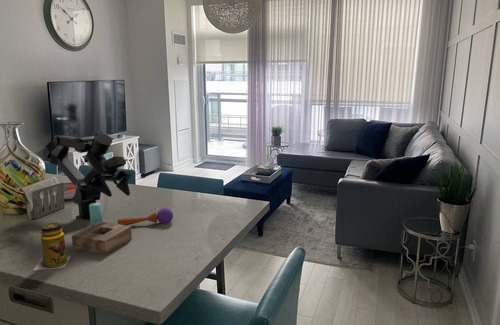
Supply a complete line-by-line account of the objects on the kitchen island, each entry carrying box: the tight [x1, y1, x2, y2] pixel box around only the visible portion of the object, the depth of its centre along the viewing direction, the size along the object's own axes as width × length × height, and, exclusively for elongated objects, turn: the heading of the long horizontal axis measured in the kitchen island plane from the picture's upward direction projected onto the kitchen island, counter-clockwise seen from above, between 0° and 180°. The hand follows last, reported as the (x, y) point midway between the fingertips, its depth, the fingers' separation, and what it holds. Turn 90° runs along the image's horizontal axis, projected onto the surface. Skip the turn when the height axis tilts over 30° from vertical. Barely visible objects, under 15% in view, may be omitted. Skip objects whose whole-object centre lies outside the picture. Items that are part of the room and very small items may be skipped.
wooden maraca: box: [116, 207, 174, 226], centre depth 142 cm, size 6×6×20 cm
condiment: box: [33, 222, 71, 271], centre depth 110 cm, size 7×8×12 cm
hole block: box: [71, 221, 133, 255], centre depth 125 cm, size 13×13×4 cm
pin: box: [89, 202, 104, 226], centre depth 138 cm, size 4×4×9 cm
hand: (120, 195), depth 135 cm, fingers open, 9 cm apart
